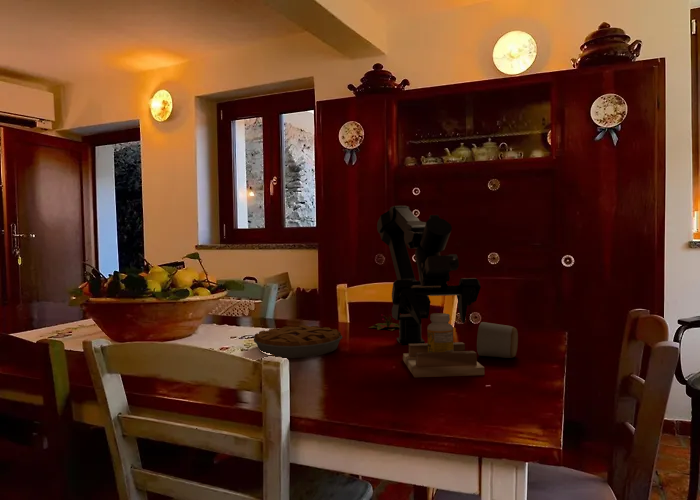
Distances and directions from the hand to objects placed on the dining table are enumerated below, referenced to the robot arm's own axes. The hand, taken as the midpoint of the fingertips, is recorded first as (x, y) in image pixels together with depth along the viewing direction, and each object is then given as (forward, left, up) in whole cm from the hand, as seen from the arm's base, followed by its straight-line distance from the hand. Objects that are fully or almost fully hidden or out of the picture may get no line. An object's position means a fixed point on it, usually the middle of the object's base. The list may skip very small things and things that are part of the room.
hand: (442, 322), depth 106 cm
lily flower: (-49, -5, -10) cm, 50 cm away
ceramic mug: (-10, +15, -10) cm, 21 cm away
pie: (-23, -31, -10) cm, 40 cm away
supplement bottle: (-2, 0, -8) cm, 8 cm away
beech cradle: (-1, 0, -10) cm, 10 cm away
